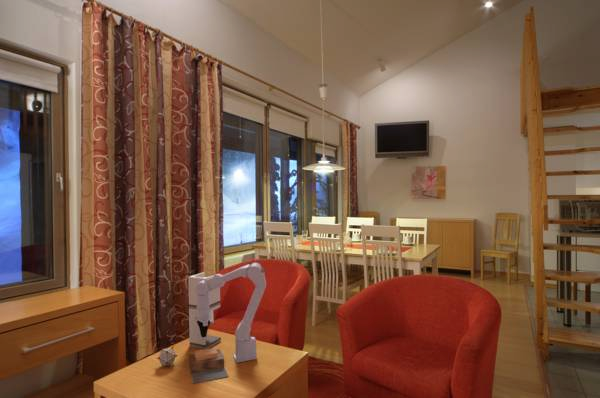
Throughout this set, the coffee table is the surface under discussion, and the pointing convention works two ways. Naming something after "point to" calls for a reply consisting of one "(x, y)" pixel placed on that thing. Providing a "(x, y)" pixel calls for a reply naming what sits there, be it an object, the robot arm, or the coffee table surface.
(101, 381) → the coffee table surface
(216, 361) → the brown flat block
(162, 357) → the grey spiky polyhedron
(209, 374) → the mat
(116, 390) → the coffee table surface
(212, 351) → the tan rectangular brick
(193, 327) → the tall white column
